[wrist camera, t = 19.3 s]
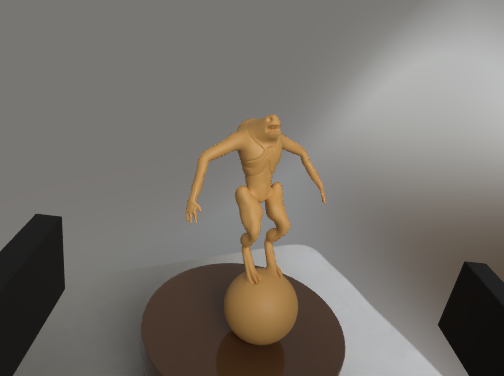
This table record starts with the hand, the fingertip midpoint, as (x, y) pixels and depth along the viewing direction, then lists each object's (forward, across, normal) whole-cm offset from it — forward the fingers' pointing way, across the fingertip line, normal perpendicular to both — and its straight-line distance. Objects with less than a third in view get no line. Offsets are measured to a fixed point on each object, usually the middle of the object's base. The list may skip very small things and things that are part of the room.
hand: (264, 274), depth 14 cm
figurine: (+7, +1, -9) cm, 12 cm away
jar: (+7, +1, -17) cm, 18 cm away
